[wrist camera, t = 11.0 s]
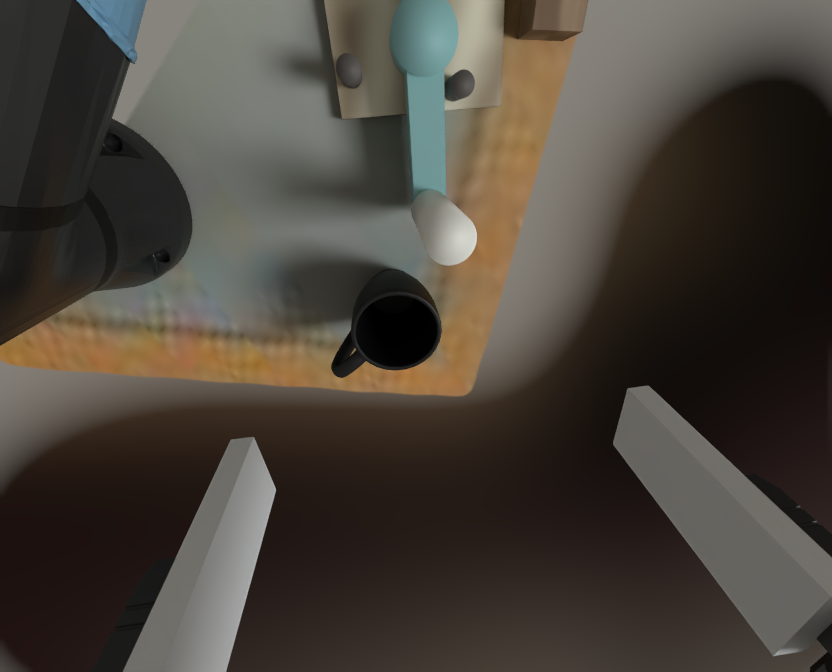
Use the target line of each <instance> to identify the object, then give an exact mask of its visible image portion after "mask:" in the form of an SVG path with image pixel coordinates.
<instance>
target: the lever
mask: <svg viewBox="0 0 832 672" xmlns="http://www.w3.org/2000/svg"><path fill="white" fill-rule="evenodd" d="M457 43H458V23H457V19H456V16H455V13H454V11H453V9H452V7H451V5H450V4H449V3H448V1H447V0H400V4H399V6H398V8H397V9H396V11H395V14H394V17H393V20H392V26H391V32H390V52H391V56H392V59H393V62H394V64H395V66H396V67H397V69H398V70H399V71H400V72H401V73H402V74H403V75H404V80H405V97H406V114H407V130H408V147H409V164H410V180H411V197H412V208H411V213H412V217H413V220H414V222H415V224H416V227H417V229H418V231H419V234H420V236H421V239H422V241H423V243H424V246H425V248H426V250H427V253H428V254H429V256H430V257H431V258H432V259H433V260H434V261H436V262H437V263H439V264H442V265H456V264H459V263H461V262H463V261H464V260H466V259H467V258H468V257H469V256H470V255H471V254H472V252H473V250H474V248H475V246H476V242H477V233H476V229H475V226H474V224H473V223H472V221H471V220H470V219H469V218H468V217H467V216H466V215H465V214H464V213H463V212H461V211H460V210H459V209H458V208H457V207H456V206H455V205H454V204H453V203H452V202H451V201H450V200H449V199H448V198H447V197H446V158H445V93H444V68H446V66H447V65H448V64H449V63H450V61H451V60H452V58H453V56H454V54H455V51H456V48H457Z"/></svg>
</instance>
